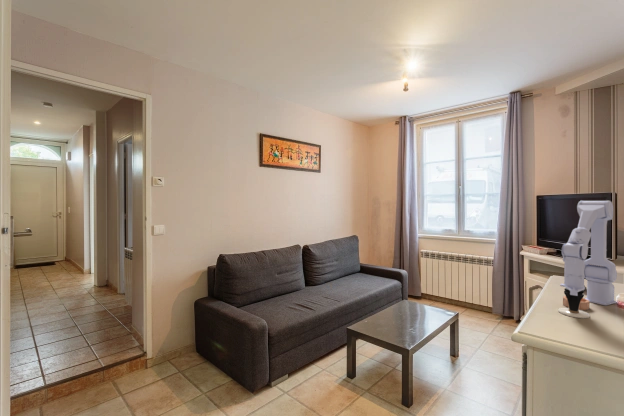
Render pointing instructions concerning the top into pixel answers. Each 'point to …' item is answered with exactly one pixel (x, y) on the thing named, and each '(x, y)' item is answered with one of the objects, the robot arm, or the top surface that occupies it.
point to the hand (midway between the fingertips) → (573, 309)
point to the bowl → (582, 306)
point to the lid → (574, 313)
